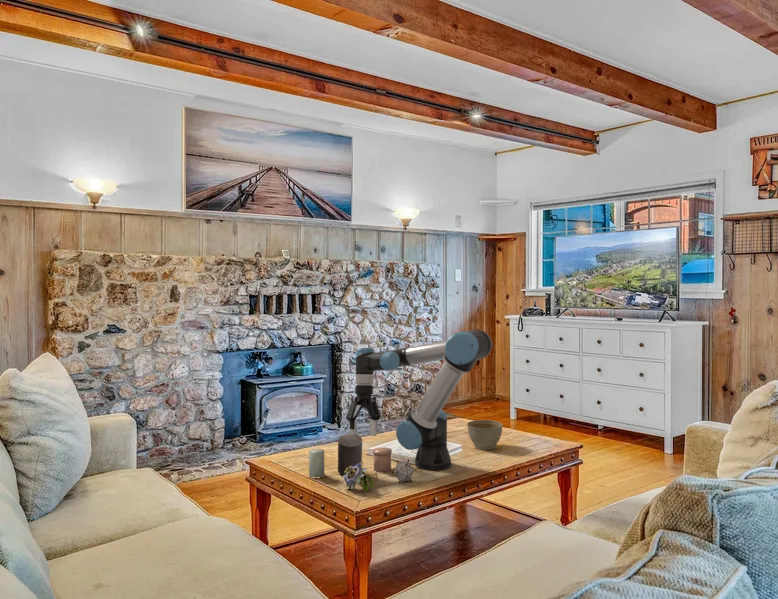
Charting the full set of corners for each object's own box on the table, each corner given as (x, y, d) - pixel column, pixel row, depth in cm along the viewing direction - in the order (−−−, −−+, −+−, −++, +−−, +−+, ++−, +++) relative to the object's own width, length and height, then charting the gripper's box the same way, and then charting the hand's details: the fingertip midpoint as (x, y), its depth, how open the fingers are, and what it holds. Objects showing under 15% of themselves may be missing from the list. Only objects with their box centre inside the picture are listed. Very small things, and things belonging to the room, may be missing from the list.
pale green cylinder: (327, 475, 239) (327, 450, 239) (318, 479, 234) (318, 454, 234) (315, 472, 242) (314, 448, 242) (306, 477, 237) (305, 452, 237)
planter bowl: (464, 443, 285) (464, 420, 284) (498, 442, 285) (498, 419, 285) (470, 452, 269) (470, 428, 268) (506, 452, 269) (506, 427, 269)
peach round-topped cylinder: (395, 468, 247) (395, 449, 247) (386, 473, 240) (385, 453, 240) (378, 465, 251) (378, 446, 250) (369, 471, 244) (369, 451, 244)
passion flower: (349, 504, 222) (334, 475, 226) (372, 492, 229) (357, 463, 233) (362, 494, 214) (346, 464, 218) (385, 482, 221) (369, 453, 225)
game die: (407, 492, 230) (413, 476, 224) (387, 483, 231) (392, 467, 225) (415, 474, 237) (420, 459, 231) (395, 466, 238) (400, 450, 232)
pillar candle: (336, 476, 237) (336, 442, 232) (339, 462, 246) (339, 429, 242) (360, 477, 237) (361, 444, 232) (362, 463, 246) (363, 431, 241)
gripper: (374, 385, 264) (374, 434, 261) (338, 384, 244) (337, 437, 241) (388, 385, 260) (388, 435, 257) (352, 384, 240) (351, 438, 236)
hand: (363, 436), depth 249 cm, fingers open, 13 cm apart
